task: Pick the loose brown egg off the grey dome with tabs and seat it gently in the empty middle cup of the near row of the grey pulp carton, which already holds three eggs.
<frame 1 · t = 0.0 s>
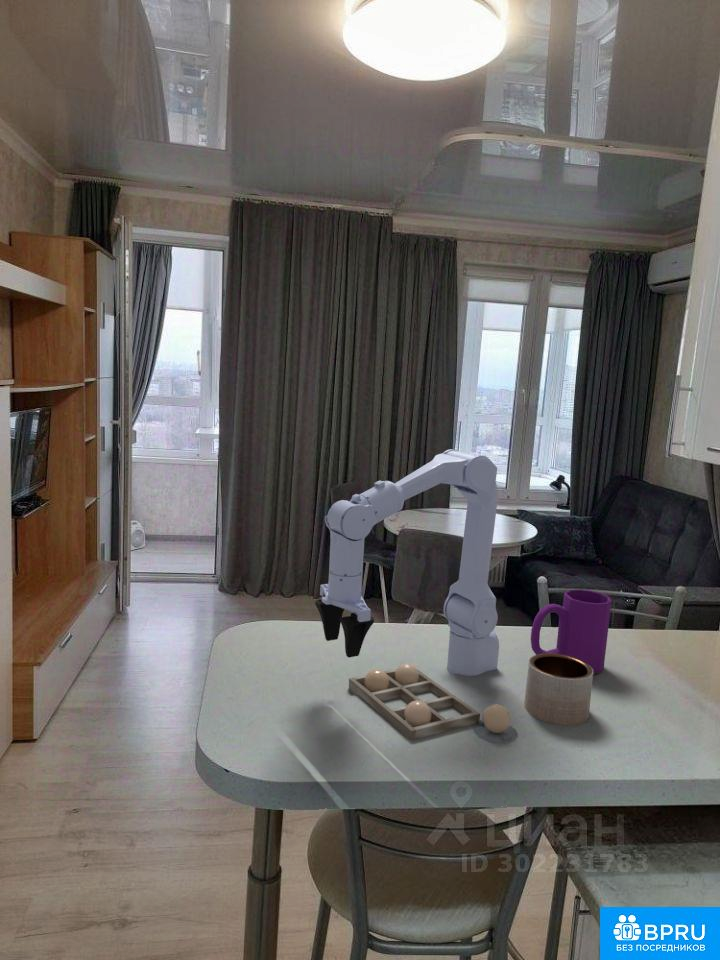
hand: (341, 647, 120), 10 cm above the table, fingers open, 7 cm apart
egg loose: (495, 731, 112), point 1 cm above the table, touching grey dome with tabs
egg a: (406, 687, 127), point 1 cm above the table, touching carton
mug: (565, 667, 143), on the table
planter: (555, 718, 121), on the table
carton: (410, 711, 120), on the table
egg c: (416, 727, 113), point 1 cm above the table, touching carton
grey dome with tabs: (494, 740, 112), on the table
egg b: (376, 693, 124), point 1 cm above the table, touching carton
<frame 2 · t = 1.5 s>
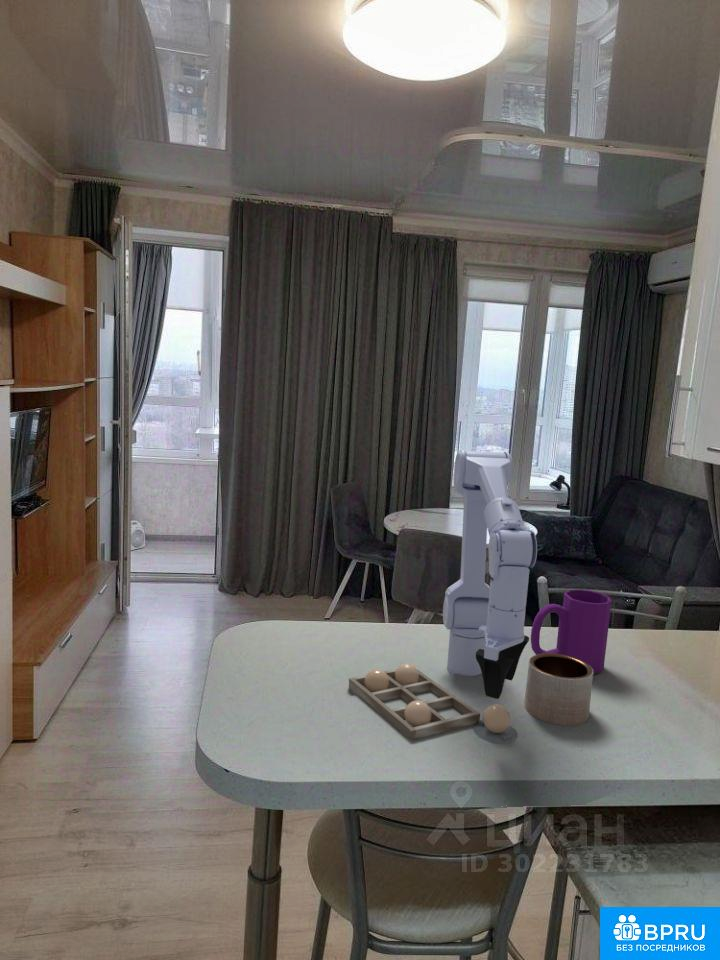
hand: (499, 687, 111), 9 cm above the table, fingers open, 7 cm apart
nothing on the table moved.
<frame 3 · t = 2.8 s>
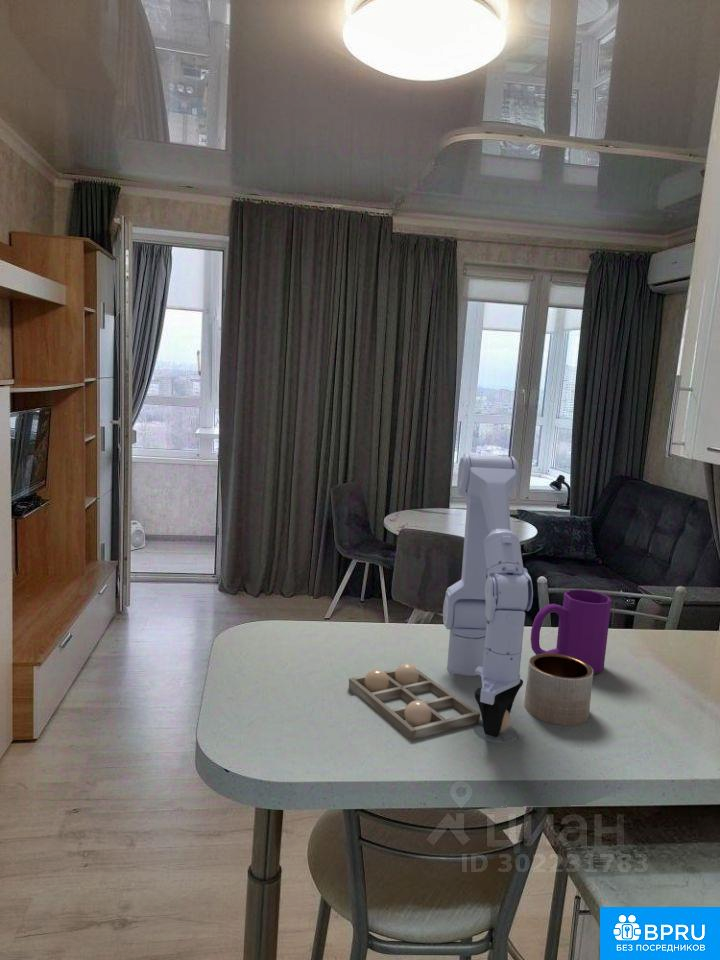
hand: (495, 727, 112), 2 cm above the table, fingers closed on egg loose, 4 cm apart
egg loose: (495, 731, 112), point 1 cm above the table, touching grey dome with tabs, gripper
everything else where it was.
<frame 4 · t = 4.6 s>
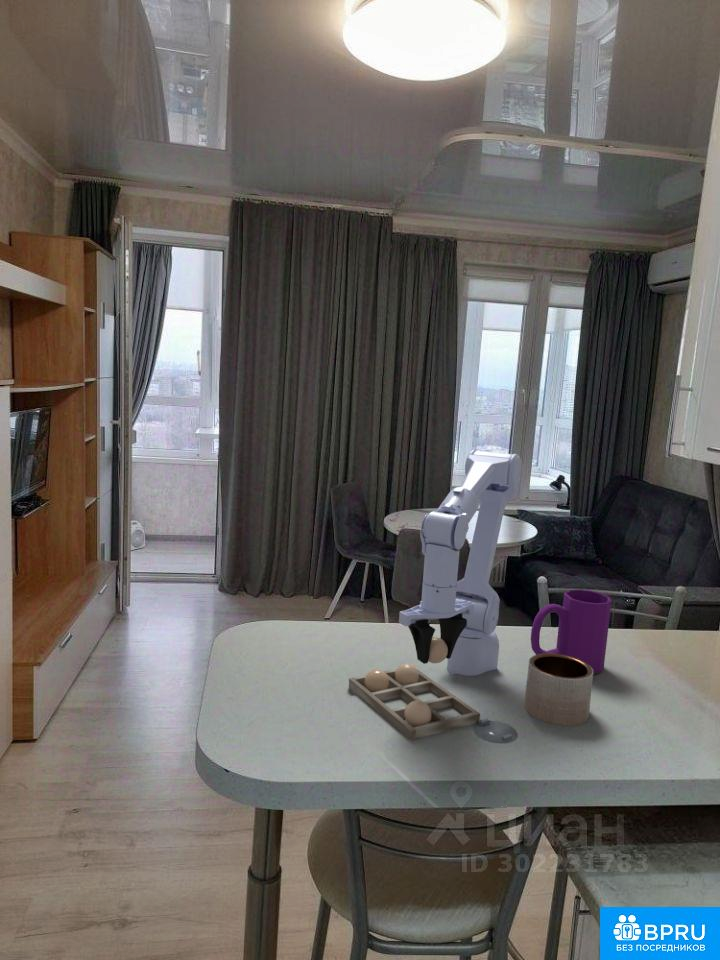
hand: (434, 658, 120), 9 cm above the table, fingers closed on egg loose, 4 cm apart
egg loose: (434, 662, 120), point 9 cm above the table, touching gripper
everything else where it was.
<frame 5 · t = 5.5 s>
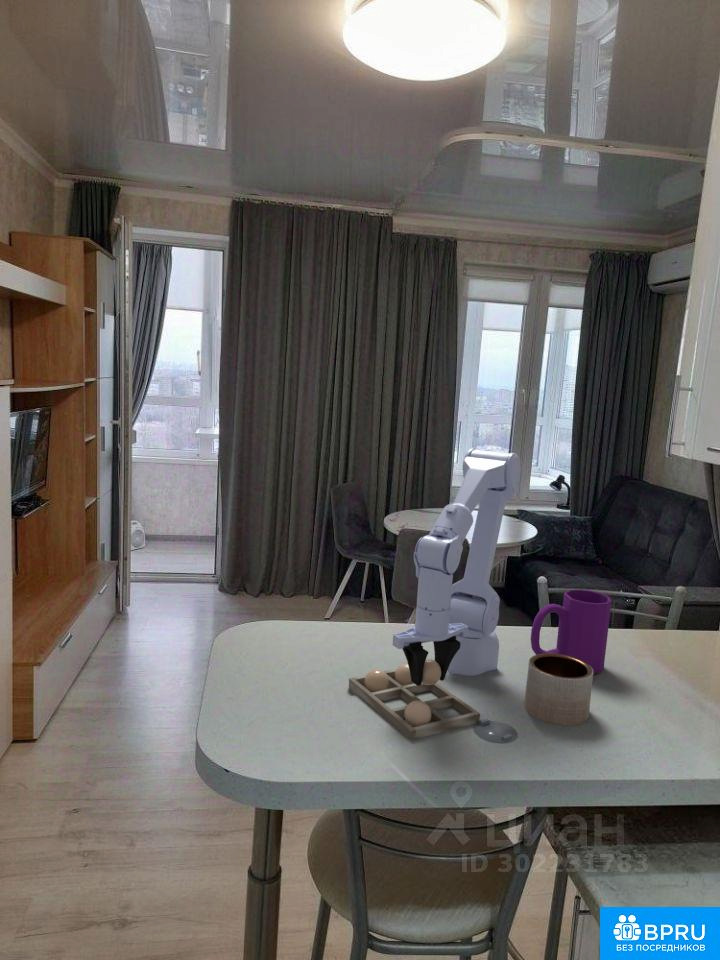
hand: (427, 680, 121), 5 cm above the table, fingers closed on egg loose, 4 cm apart
egg loose: (427, 683, 121), point 4 cm above the table, touching gripper
everything else where it was.
when the fingers open (3 cm above the table, at t = 6.3 s): egg loose drops 2 cm, resting on carton.
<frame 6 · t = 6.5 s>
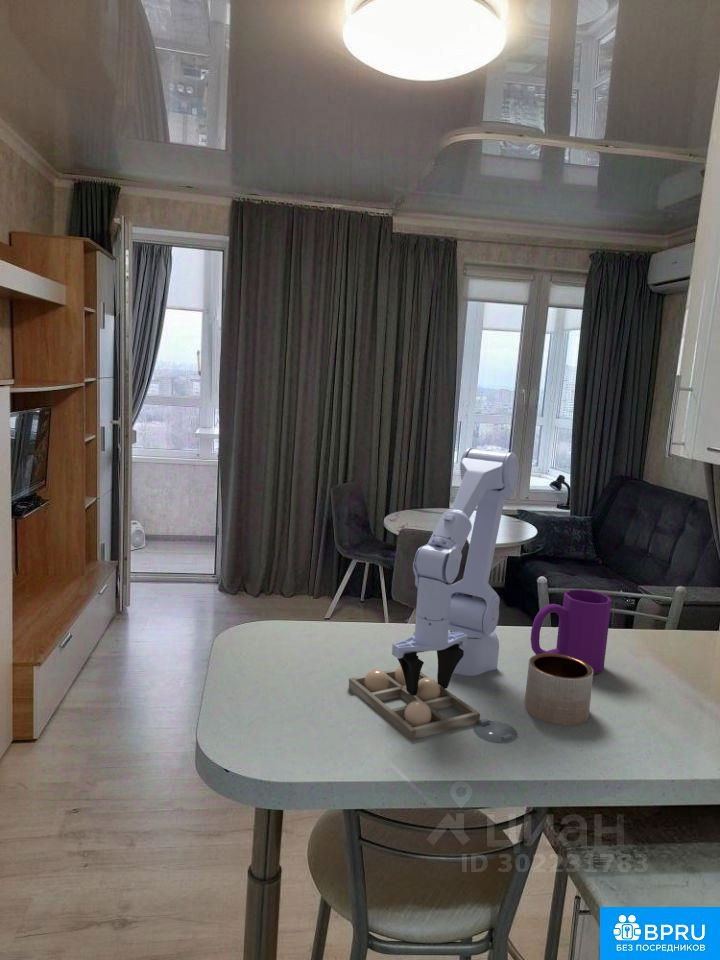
hand: (427, 689, 121), 3 cm above the table, fingers open, 6 cm apart
egg loose: (426, 702, 121), point 1 cm above the table, touching carton
everything else where it was.
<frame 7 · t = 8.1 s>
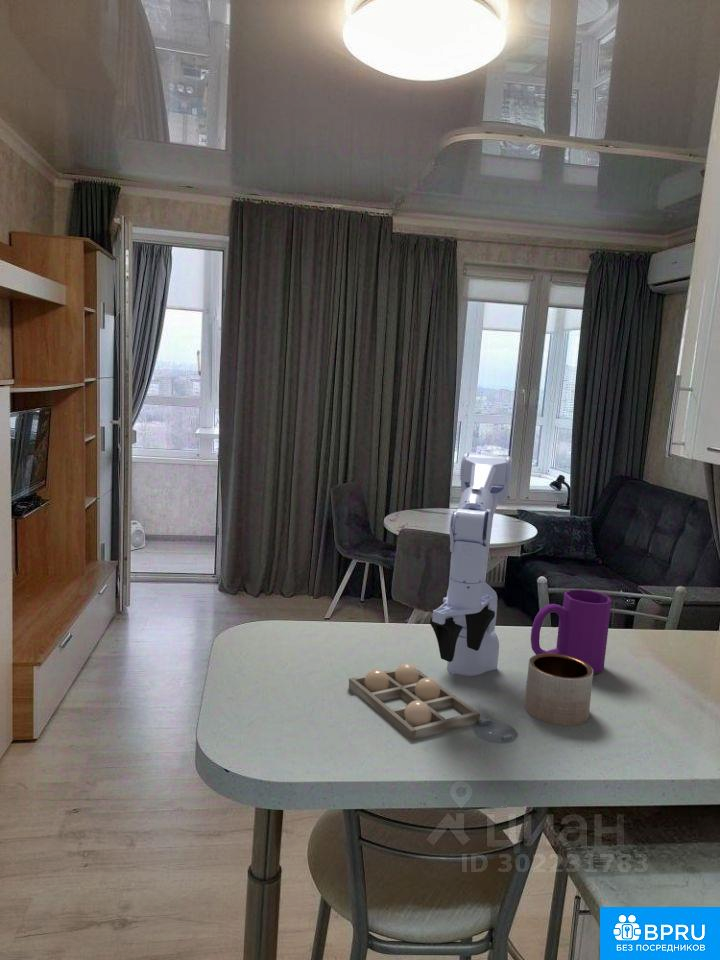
hand: (460, 654, 121), 10 cm above the table, fingers open, 7 cm apart
nothing on the table moved.
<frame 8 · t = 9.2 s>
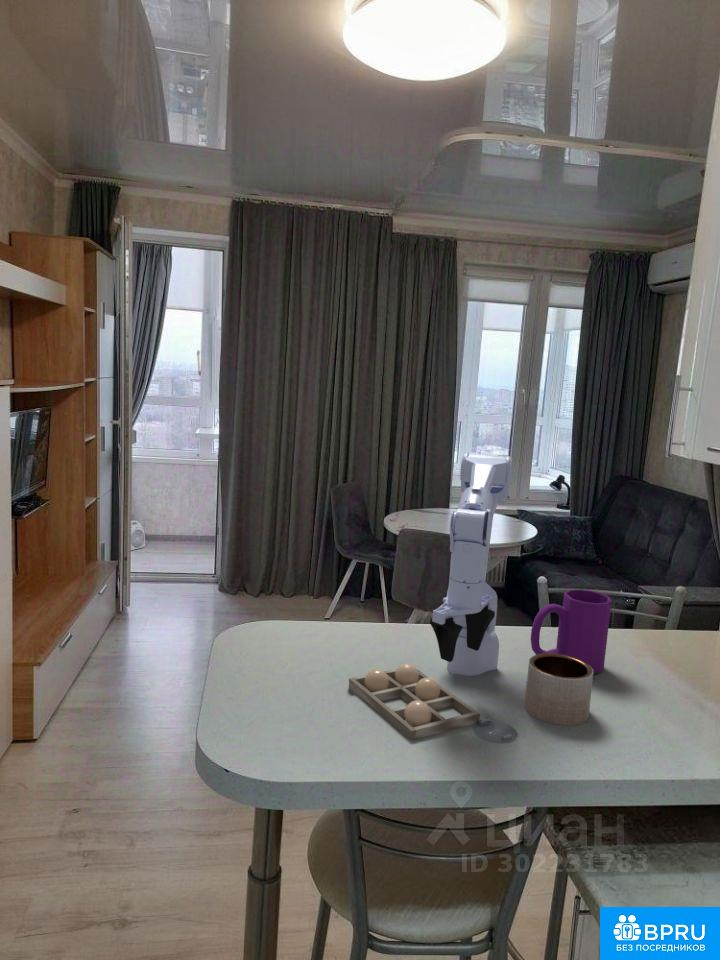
hand: (460, 654, 121), 10 cm above the table, fingers open, 7 cm apart
nothing on the table moved.
at the end: egg loose 0.0 cm from the target spot on the carton, point 1.0 cm above the carton's base; the gripper is holding nothing; egg c moved 0.0 cm from its start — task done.
